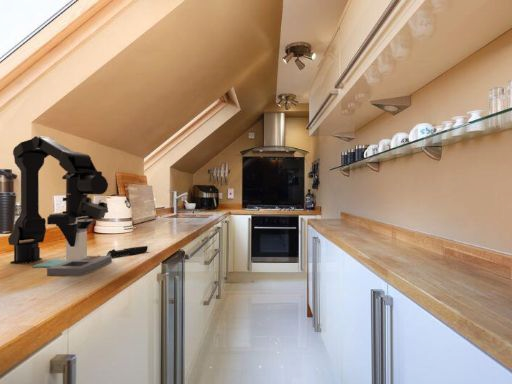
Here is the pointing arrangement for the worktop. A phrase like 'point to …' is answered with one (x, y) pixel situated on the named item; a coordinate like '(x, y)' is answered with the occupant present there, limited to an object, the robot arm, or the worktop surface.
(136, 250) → the electric trimmer
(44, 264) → the teal mat
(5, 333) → the worktop surface
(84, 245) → the beige grey rectangular block
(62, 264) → the grey panel
